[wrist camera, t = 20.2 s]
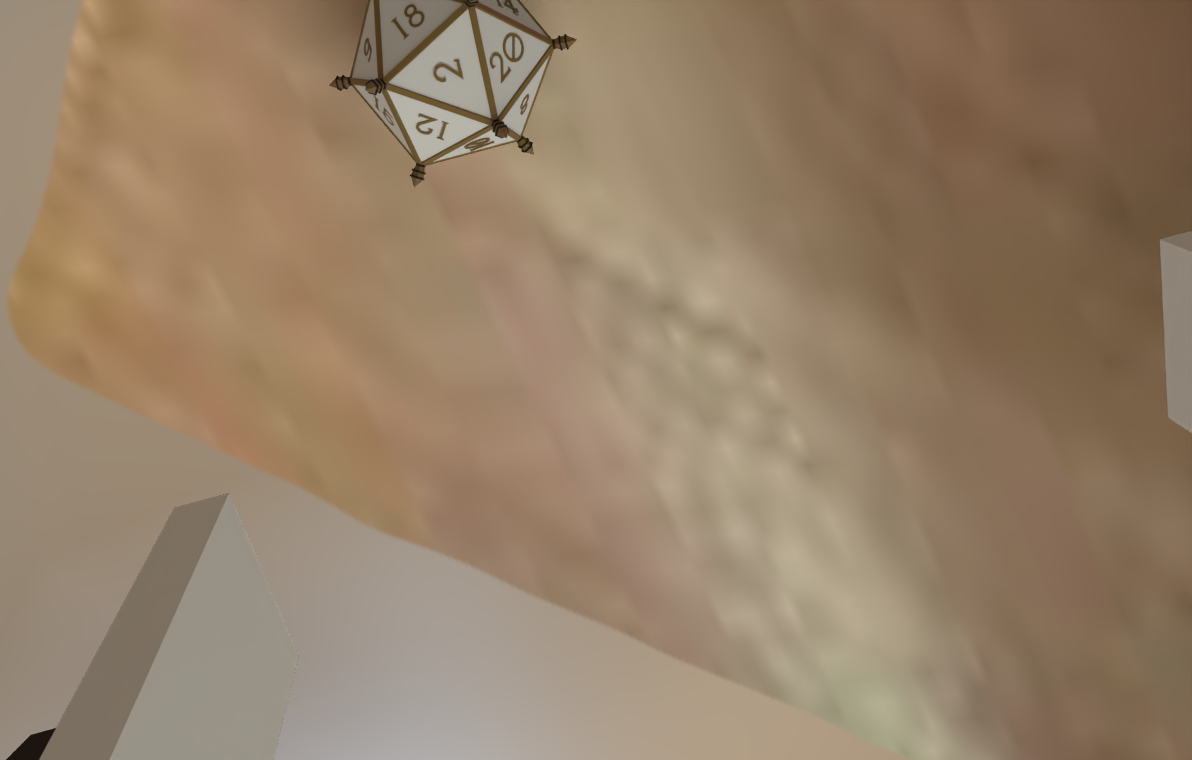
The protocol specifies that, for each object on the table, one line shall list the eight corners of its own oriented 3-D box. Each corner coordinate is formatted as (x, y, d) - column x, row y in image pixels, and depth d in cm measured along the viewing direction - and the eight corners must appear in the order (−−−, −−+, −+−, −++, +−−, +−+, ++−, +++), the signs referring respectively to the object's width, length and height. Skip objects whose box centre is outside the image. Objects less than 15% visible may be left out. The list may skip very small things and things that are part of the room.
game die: (448, 1, 49) (492, -159, 39) (570, 147, 48) (643, 21, 39) (283, 99, 45) (290, -51, 36) (414, 256, 45) (454, 146, 36)
